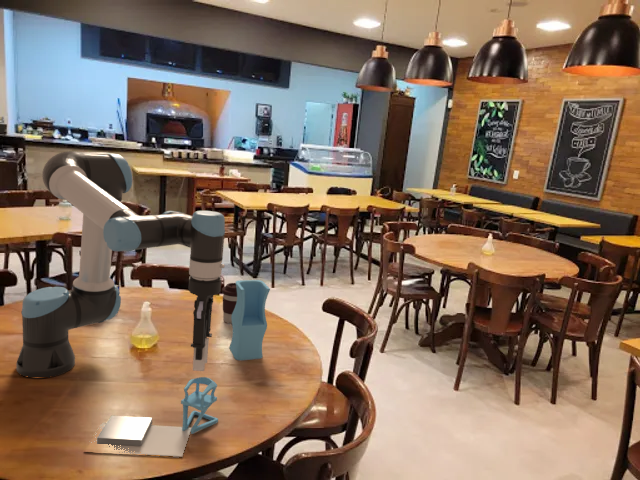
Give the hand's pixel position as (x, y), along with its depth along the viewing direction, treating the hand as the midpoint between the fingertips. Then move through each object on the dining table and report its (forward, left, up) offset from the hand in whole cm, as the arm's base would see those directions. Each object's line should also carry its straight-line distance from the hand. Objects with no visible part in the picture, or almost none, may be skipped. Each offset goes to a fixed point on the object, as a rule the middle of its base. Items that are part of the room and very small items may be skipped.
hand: (200, 365), depth 117 cm
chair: (0, 0, -17) cm, 17 cm away
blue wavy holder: (+9, +43, -17) cm, 47 cm away
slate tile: (-16, -1, -15) cm, 22 cm away
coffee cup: (+1, +71, -17) cm, 73 cm away
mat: (-12, -7, -17) cm, 22 cm away
